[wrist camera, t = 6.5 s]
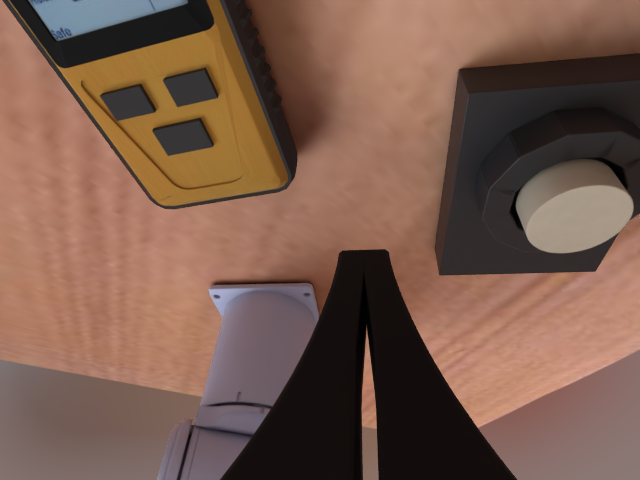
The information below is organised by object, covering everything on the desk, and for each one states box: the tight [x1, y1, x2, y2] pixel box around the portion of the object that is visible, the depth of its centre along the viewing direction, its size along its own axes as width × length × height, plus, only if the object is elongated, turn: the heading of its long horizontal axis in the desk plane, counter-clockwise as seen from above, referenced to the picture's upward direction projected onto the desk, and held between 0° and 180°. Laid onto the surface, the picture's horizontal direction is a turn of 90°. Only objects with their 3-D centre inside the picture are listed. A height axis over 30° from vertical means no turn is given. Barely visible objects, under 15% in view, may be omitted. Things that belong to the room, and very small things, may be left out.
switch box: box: [435, 54, 640, 275], centre depth 20 cm, size 12×9×4 cm
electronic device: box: [3, 0, 297, 209], centre depth 16 cm, size 8×16×3 cm, turn 14°
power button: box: [516, 159, 634, 253], centre depth 18 cm, size 4×4×2 cm
